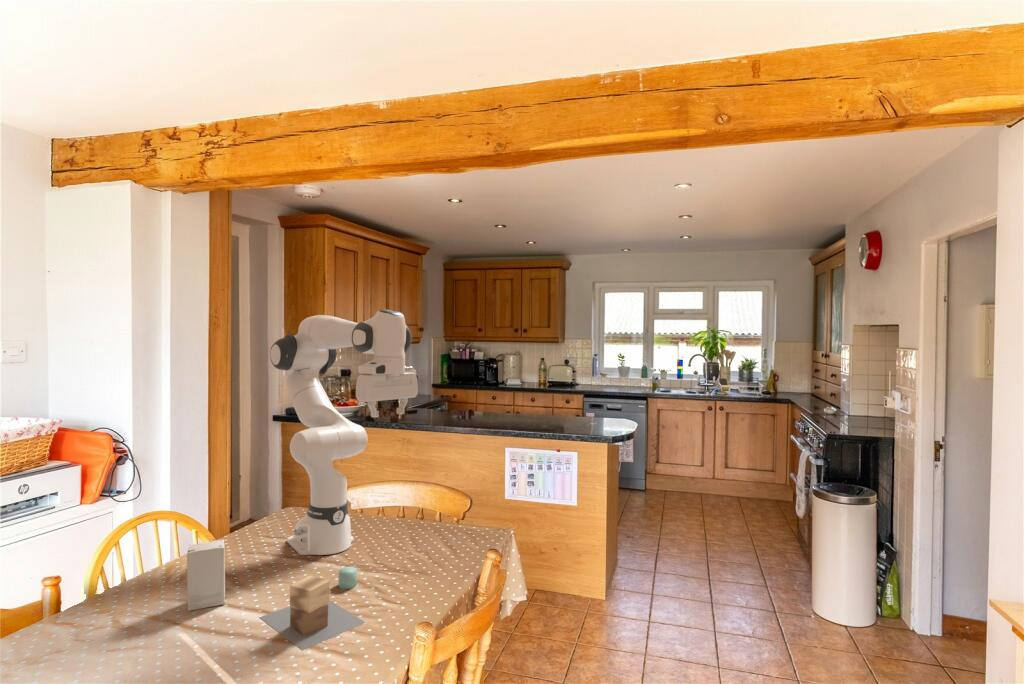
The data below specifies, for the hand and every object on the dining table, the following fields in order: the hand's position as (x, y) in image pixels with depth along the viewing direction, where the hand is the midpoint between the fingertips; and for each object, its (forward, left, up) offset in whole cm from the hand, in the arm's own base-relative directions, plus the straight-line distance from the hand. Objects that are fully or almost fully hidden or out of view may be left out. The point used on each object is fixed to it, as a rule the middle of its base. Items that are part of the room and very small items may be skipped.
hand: (387, 415), depth 157 cm
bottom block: (+11, -29, -45) cm, 55 cm away
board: (+9, -27, -46) cm, 54 cm away
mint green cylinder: (-1, -11, -46) cm, 47 cm away
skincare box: (-19, -40, -46) cm, 64 cm away
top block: (+11, -29, -40) cm, 51 cm away
